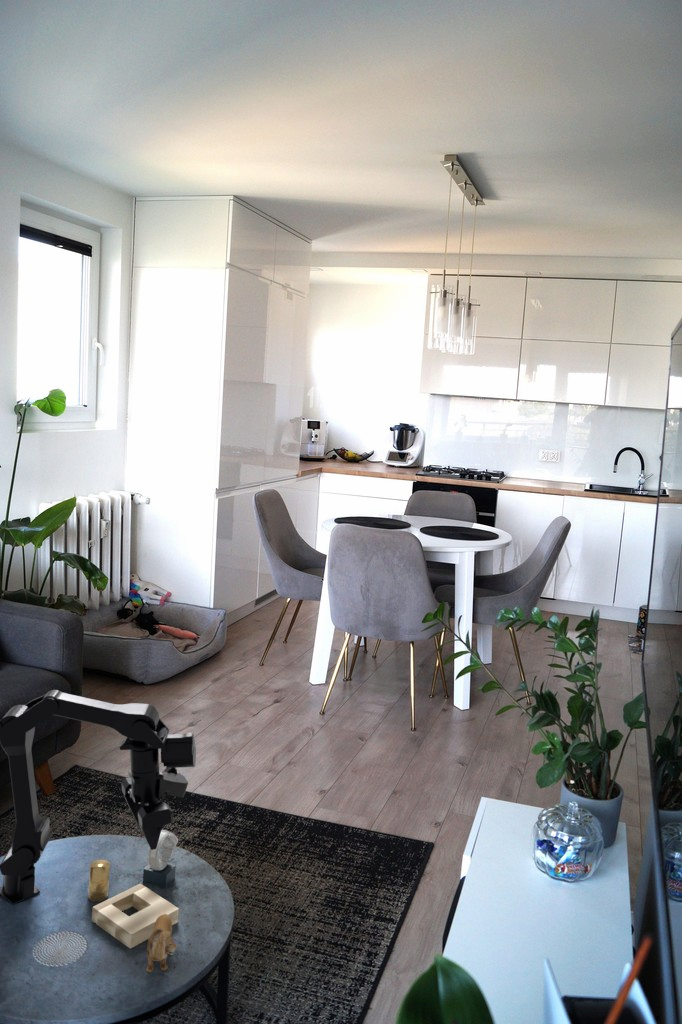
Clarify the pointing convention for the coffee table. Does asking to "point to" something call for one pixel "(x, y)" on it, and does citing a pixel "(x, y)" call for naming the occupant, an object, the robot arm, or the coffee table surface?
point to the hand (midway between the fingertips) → (147, 838)
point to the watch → (161, 862)
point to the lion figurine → (160, 943)
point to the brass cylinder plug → (99, 880)
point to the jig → (138, 924)
